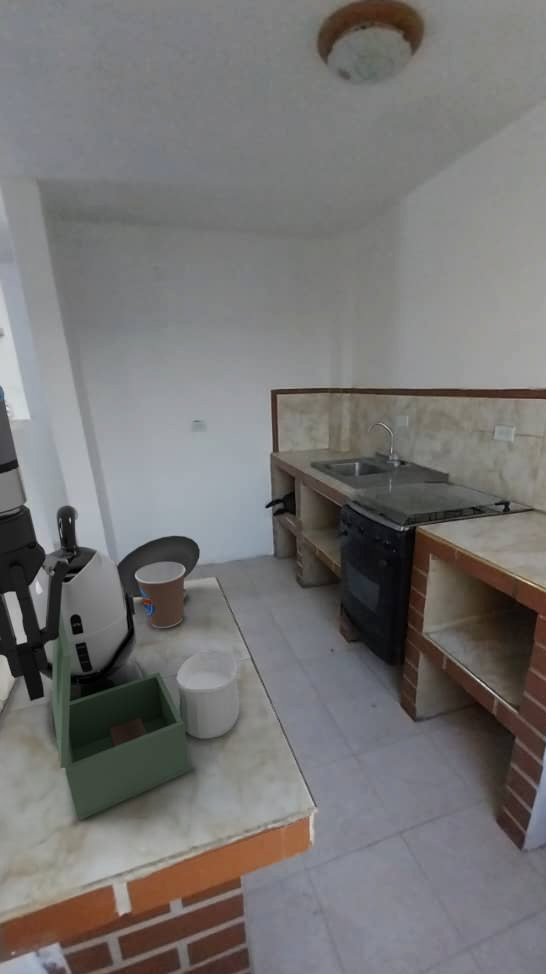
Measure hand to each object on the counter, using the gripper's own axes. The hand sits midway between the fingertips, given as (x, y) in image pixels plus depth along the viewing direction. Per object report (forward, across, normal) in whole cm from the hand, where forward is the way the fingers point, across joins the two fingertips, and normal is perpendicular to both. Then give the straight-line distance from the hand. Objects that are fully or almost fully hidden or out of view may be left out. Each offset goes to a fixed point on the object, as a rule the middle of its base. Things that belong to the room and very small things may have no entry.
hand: (36, 692), depth 56 cm
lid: (0, +3, 0) cm, 3 cm away
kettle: (+17, +7, +18) cm, 25 cm away
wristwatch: (+16, +27, +45) cm, 55 cm away
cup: (+17, +22, +2) cm, 28 cm away
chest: (+17, +8, 0) cm, 19 cm away
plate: (+8, +25, +42) cm, 50 cm away
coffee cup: (+17, +24, +35) cm, 46 cm away
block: (+16, +9, 0) cm, 18 cm away
